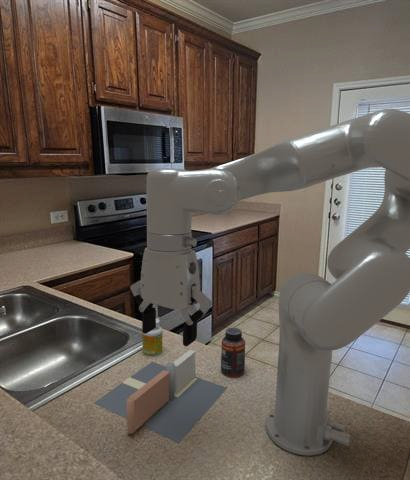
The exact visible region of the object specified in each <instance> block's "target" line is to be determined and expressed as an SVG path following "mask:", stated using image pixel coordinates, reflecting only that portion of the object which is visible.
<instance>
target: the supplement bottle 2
mask: <svg viewBox="0 0 410 480" xmlns="http://www.w3.org/2000/svg"><path fill="white" fill-rule="evenodd" d="M220 348H221V349H220V350H221V351H220V355H221V356H220V372H221V374H222V375H223V376H225V377H227V378H231V379H237V378H240V377H242V376H243V375H244V374H245V369H246V368H245V365H246V363H245V362H246V341H245V339H244V338H243V335H242V329H241V328H239V327H238V328H237V327H228V328H226V330H225V335H224V337H222V339H221V347H220Z"/></svg>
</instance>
